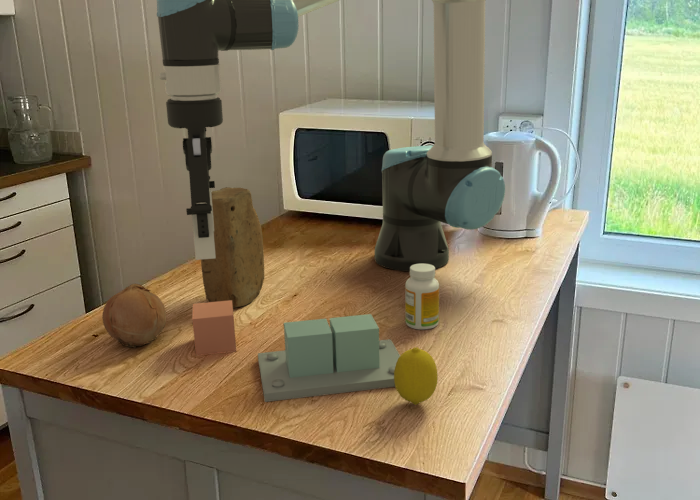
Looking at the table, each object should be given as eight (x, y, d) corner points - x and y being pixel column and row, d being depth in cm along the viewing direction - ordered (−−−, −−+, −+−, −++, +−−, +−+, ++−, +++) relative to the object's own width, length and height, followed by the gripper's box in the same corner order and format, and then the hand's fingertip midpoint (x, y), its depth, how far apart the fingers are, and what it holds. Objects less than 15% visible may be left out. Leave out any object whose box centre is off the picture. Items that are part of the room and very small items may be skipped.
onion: (139, 349, 116) (139, 287, 117) (179, 346, 110) (178, 282, 112) (89, 350, 108) (89, 284, 109) (129, 347, 103) (129, 278, 104)
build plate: (390, 346, 108) (390, 302, 105) (412, 384, 96) (412, 336, 94) (258, 360, 104) (255, 315, 102) (264, 401, 93) (261, 352, 91)
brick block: (234, 335, 113) (231, 300, 111) (236, 351, 107) (233, 315, 106) (196, 339, 112) (192, 303, 110) (196, 355, 106) (192, 319, 104)
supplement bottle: (441, 318, 117) (442, 263, 114) (434, 332, 112) (435, 274, 109) (409, 315, 119) (410, 260, 116) (401, 328, 114) (401, 271, 111)
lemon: (391, 394, 94) (390, 339, 92) (432, 392, 94) (433, 337, 92) (397, 416, 89) (397, 359, 86) (441, 414, 89) (442, 356, 87)
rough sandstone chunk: (233, 313, 121) (224, 199, 115) (200, 305, 125) (189, 194, 118) (272, 292, 130) (265, 185, 123) (240, 286, 133) (232, 181, 127)
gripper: (169, 89, 109) (181, 223, 115) (160, 108, 85) (176, 274, 92) (219, 88, 110) (228, 220, 117) (223, 105, 87) (234, 269, 93)
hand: (205, 244), depth 104 cm, fingers open, 13 cm apart
